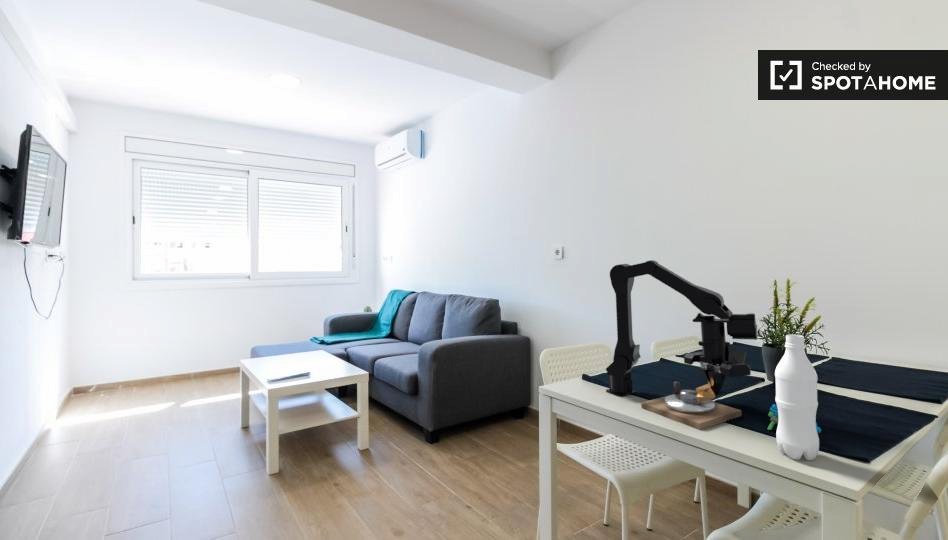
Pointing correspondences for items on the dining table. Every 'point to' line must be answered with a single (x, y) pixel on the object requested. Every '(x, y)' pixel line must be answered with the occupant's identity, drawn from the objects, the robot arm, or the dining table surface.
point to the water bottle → (796, 401)
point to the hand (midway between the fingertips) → (717, 394)
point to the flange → (692, 400)
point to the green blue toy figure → (775, 418)
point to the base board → (693, 420)
